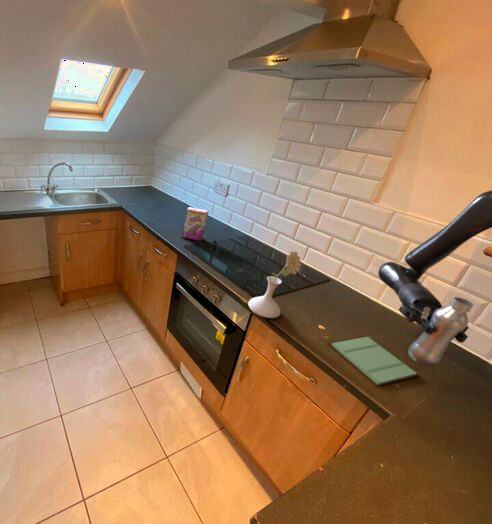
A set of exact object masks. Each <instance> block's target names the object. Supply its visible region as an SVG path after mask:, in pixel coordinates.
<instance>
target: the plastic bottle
mask: <svg viewBox="0 0 492 524" xmlns="http://www.w3.org/2000/svg"><path fill="white" fill-rule="evenodd" d="M473 307H474V304H473V302H471V301H469V300H468V299H465V298H462V297H458V296H455V297H453V298H452V300H451V301H449V303H448V305H444V306H442V308H439V309H437V310H436V311H435V312H434V314H433V316H432V318H431V320H430V323H431V324H432V325H433V326H434V328H435V330H434V331H433V333H432V334H427V333H426V332H425V331H424V330H423V332H422V333H421V334H420V336H419V337H418V338H417V339H416V340H414V341H413V342H412V343H411V344H410V345H409V347H408V350H407V352H408V356H409V358H411V360H413V361H414V362H416V363H417V364H419V365H422V366H424V367H434V366H436V365H437V364H439V363H440V361H441V359H442V358H443V354H444V352H445V351H446V350H447V348H448V347H449V345H450V344H451V343H452V342H453V340H454V339H455V337H456V336H457V335H458V334H459V333H460V332H461V331H463V330H464V329H465V328H466V327H467V326H468V325H469V317H468V313H469V312H471V310H472V308H473Z"/></svg>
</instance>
